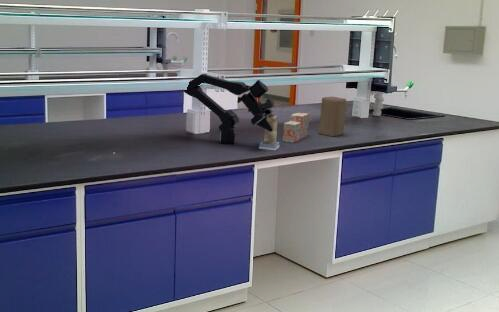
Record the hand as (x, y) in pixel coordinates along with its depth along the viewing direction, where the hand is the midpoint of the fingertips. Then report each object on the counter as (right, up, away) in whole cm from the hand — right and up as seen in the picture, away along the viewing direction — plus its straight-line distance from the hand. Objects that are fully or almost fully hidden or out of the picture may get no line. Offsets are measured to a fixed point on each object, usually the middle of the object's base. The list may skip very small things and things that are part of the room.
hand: (273, 130), depth 264 cm
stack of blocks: (+13, -3, +27) cm, 30 cm away
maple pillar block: (-1, -6, +3) cm, 7 cm away
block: (+33, -1, +43) cm, 54 cm away
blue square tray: (-2, -8, +2) cm, 9 cm away
